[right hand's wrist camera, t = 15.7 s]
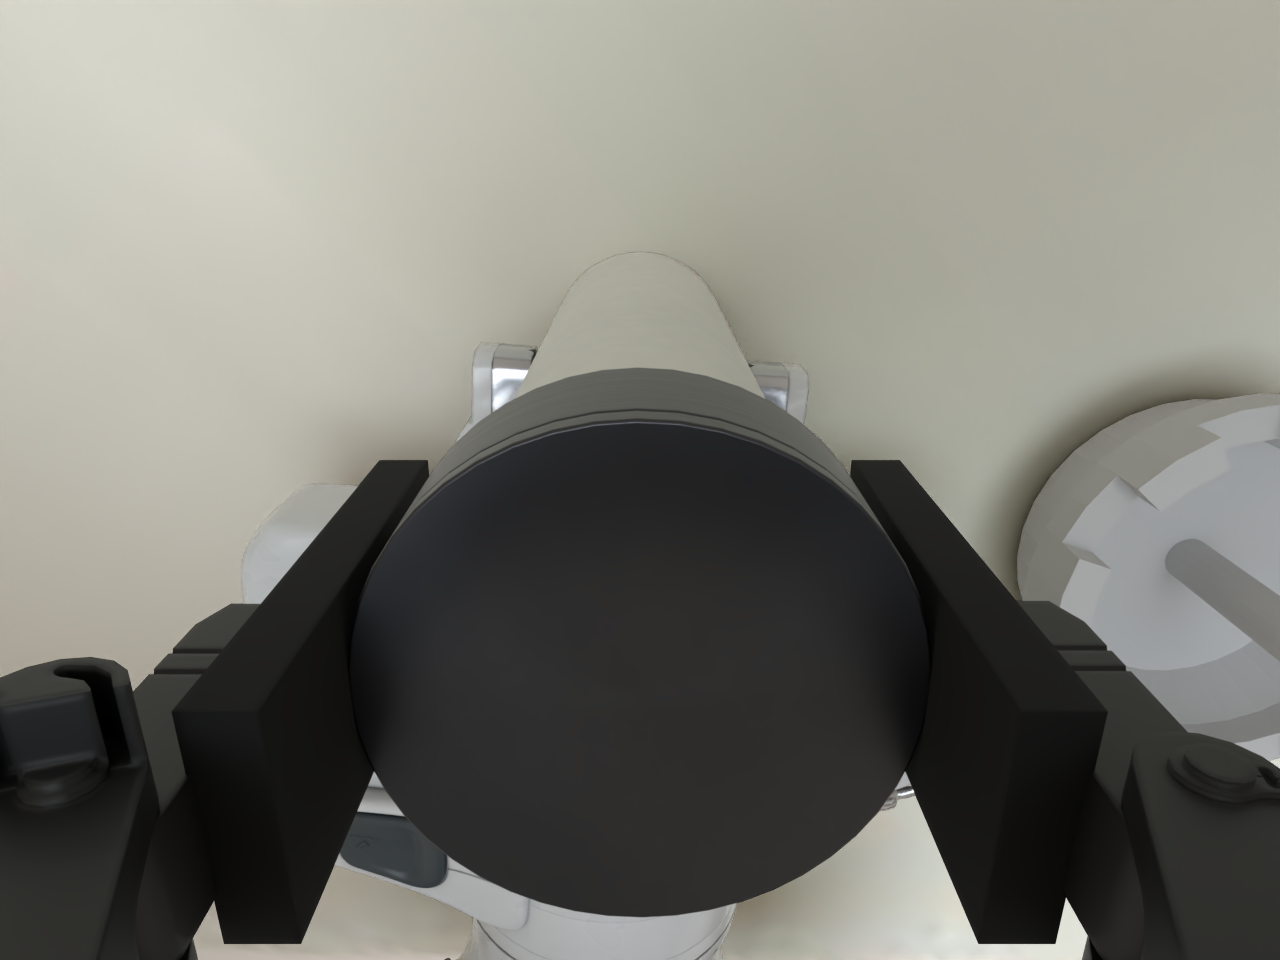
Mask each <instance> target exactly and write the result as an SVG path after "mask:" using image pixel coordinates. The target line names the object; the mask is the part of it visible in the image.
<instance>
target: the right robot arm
mask: <svg viewBox="0 0 1280 960" xmlns="http://www.w3.org/2000/svg"><path fill="white" fill-rule="evenodd" d="M850 477H851V479H852V480H853V482H854V483H855V485H856V487H857V488H858V490H859V491H860V493H861V494H862V496H863V498H864V499H865V501H866V502H867V504H868V505H869V507H870V508H871V510H872V512H873V513H874V515H875V516H876V518H877V519H878V521H879V523H880V524H881V526H882V527H883V529H884V530H885V532H886V533H887V535H888V537H889V538H890V540H891V541H892V543H893V544H894V546H895V548H896V549H897V551H898V552H899V554H900V555H901V557H902V559H903V560H904V562H905V563H906V565H907V568H908V570H909V572H910V574H911V577H912V579H913V581H914V584H915V586H916V588H917V590H918V593H919V595H920V598H921V602H922V606H923V609H924V613H925V617H926V621H927V625H928V628H929V637H930V647H931V657H932V668H931V678H930V686H929V694H928V701H927V708H926V714H925V721H924V727H923V730H922V733H921V736H920V738H919V741H918V744H917V747H916V749H915V752H914V755H913V757H912V759H911V761H910V763H909V765H908V767H907V769H906V771H905V772H906V774H907V777H908V779H909V781H910V784H911V786H912V788H913V791H914V793H915V796H916V798H917V800H918V803H919V805H920V807H921V810H922V812H923V814H924V817H925V819H926V821H927V824H928V826H929V828H930V831H931V833H932V836H933V838H934V840H935V843H936V845H937V847H938V850H939V852H940V854H941V857H942V859H943V861H944V864H945V866H946V869H947V871H948V873H949V876H950V878H951V880H952V883H953V885H954V887H955V890H956V892H957V894H958V897H959V899H960V901H961V904H962V906H963V909H964V911H965V913H966V916H967V918H968V920H969V923H970V925H971V927H972V930H973V932H974V934H975V937H976V939H977V942H978V944H1055V943H1056V939H1057V934H1058V930H1059V926H1060V921H1061V917H1062V912H1063V908H1064V903H1065V899H1066V898H1067V900H1068V901H1069V903H1070V905H1071V907H1072V908H1073V910H1074V912H1075V914H1076V916H1077V917H1078V919H1079V921H1080V923H1081V924H1082V926H1083V928H1084V930H1085V931H1086V933H1087V935H1088V937H1087V941H1086V945H1085V949H1084V953H1083V957H1082V960H1280V769H1279V768H1278V767H1277V766H1275V765H1274V764H1272V763H1271V762H1269V761H1268V760H1267V759H1265V758H1264V757H1262V756H1260V755H1258V754H1256V753H1254V752H1252V751H1249V750H1247V749H1245V748H1243V747H1241V746H1239V745H1236V744H1234V743H1232V742H1229V741H1225V740H1222V739H1218V738H1214V737H1211V736H1207V735H1203V734H1200V733H1189V732H1187V731H1186V729H1185V728H1184V727H1183V726H1182V725H1181V724H1180V723H1179V722H1178V721H1177V720H1176V719H1175V718H1174V717H1173V716H1172V715H1171V713H1170V712H1169V711H1168V710H1167V709H1166V708H1165V707H1164V706H1163V705H1162V704H1161V703H1160V702H1159V701H1158V700H1157V698H1156V697H1155V696H1154V695H1153V694H1152V693H1151V692H1150V691H1149V690H1148V689H1147V688H1146V687H1145V686H1144V685H1143V684H1142V682H1141V681H1140V680H1139V679H1138V678H1137V677H1136V676H1135V675H1134V674H1133V673H1132V672H1131V671H1126V665H1125V664H1124V663H1123V662H1122V661H1121V660H1120V659H1119V658H1118V657H1117V656H1116V655H1115V654H1114V653H1113V652H1112V651H1108V650H1107V645H1106V644H1105V643H1104V642H1103V641H1102V640H1101V639H1100V638H1099V637H1098V635H1097V634H1096V633H1095V632H1094V631H1093V630H1092V629H1091V628H1090V627H1089V626H1088V625H1087V624H1086V623H1085V622H1084V621H1083V620H1081V619H1079V618H1077V617H1076V616H1074V615H1072V614H1071V613H1069V612H1067V611H1065V610H1064V609H1062V608H1060V607H1058V606H1057V605H1055V604H1053V603H1052V602H1050V601H1016V600H1015V599H1014V597H1013V596H1012V595H1011V594H1010V593H1009V591H1008V590H1007V589H1006V588H1005V587H1004V585H1003V584H1002V583H1001V582H1000V581H999V579H998V578H997V577H996V576H995V575H994V573H993V572H992V571H991V570H990V569H989V567H988V566H987V565H986V564H985V562H984V561H983V560H982V559H981V558H980V556H979V555H978V554H977V553H976V552H975V550H974V549H973V548H972V547H971V546H970V544H969V543H968V542H967V541H966V540H965V538H964V537H963V536H962V535H961V534H960V532H959V531H958V530H957V529H956V528H955V526H954V525H953V524H952V523H951V521H950V520H949V519H948V518H947V517H946V515H945V514H944V513H943V512H942V511H941V509H940V508H939V507H938V506H937V505H936V503H935V502H934V501H933V500H932V499H931V497H930V496H929V495H928V494H927V493H926V491H925V490H924V489H923V488H922V486H921V485H920V484H919V483H918V482H917V480H916V479H915V478H914V477H913V476H912V474H911V473H910V472H909V471H908V470H907V468H906V467H905V466H904V465H903V464H902V462H901V461H900V460H852V463H851V474H850ZM428 478H429V469H428V460H379V462H378V463H377V464H376V465H375V466H374V468H373V469H372V470H371V471H370V473H369V474H368V475H367V476H366V477H365V479H364V480H363V481H362V482H361V483H360V485H359V486H358V487H357V488H356V489H355V491H354V492H353V493H352V494H351V495H350V497H349V498H348V499H347V500H346V501H345V503H344V504H343V505H342V506H341V508H340V509H339V510H338V511H337V512H336V514H335V515H334V516H333V517H332V518H331V520H330V521H329V522H328V523H327V524H326V526H325V527H324V528H323V529H322V530H321V532H320V533H319V534H318V535H317V536H316V538H315V539H314V540H313V541H312V542H311V544H310V545H309V546H308V547H307V549H306V550H305V551H304V552H303V553H302V555H301V556H300V557H299V558H298V559H297V561H296V562H295V563H294V564H293V565H292V567H291V568H290V569H289V570H288V571H287V573H286V574H285V575H284V576H283V577H282V579H281V580H280V581H279V582H278V583H277V585H276V586H275V587H274V588H273V590H272V591H271V592H270V593H269V594H268V596H267V597H266V598H265V599H264V600H263V602H262V603H261V604H230V605H228V606H226V607H225V608H223V609H221V610H220V611H218V612H216V613H215V614H213V615H211V616H209V617H208V618H206V619H204V620H203V621H201V622H199V623H197V624H196V625H195V626H194V627H193V628H192V629H191V630H190V631H189V632H188V633H187V634H186V635H185V636H184V638H183V639H182V640H181V641H180V642H179V643H178V644H177V645H176V646H175V647H174V648H173V654H168V655H167V656H166V657H165V658H164V659H163V660H162V661H161V662H160V663H159V664H158V666H157V667H156V668H155V669H154V674H149V675H148V676H147V677H146V678H145V680H144V681H143V682H142V683H141V684H140V685H139V686H138V687H137V688H136V689H135V690H134V691H132V687H131V682H130V678H129V674H128V670H126V669H125V668H124V667H122V666H121V665H119V664H118V663H117V662H115V661H112V660H106V659H100V658H94V657H85V658H71V659H60V660H55V661H51V662H47V663H43V664H39V665H34V666H30V667H26V668H24V669H21V670H19V671H16V672H14V673H11V674H9V675H6V676H4V677H1V678H0V960H198V958H197V953H196V949H195V945H194V941H193V937H194V935H195V933H196V932H197V930H198V928H199V926H200V924H201V923H202V921H203V919H204V917H205V916H206V914H207V912H208V910H209V909H210V907H211V905H212V903H213V901H214V902H215V906H216V910H217V915H218V919H219V924H220V928H221V932H222V937H223V941H224V944H301V943H302V940H303V938H304V936H305V933H306V931H307V928H308V926H309V924H310V921H311V919H312V917H313V914H314V912H315V910H316V907H317V905H318V903H319V900H320V898H321V895H322V893H323V891H324V888H325V886H326V884H327V881H328V879H329V877H330V874H331V872H332V870H333V867H334V865H335V863H336V860H337V858H338V855H339V853H340V851H341V848H342V846H343V844H344V841H345V839H346V837H347V834H348V832H349V830H350V827H351V825H352V822H353V820H354V818H355V815H356V813H357V811H358V808H359V806H360V804H361V801H362V799H363V797H364V794H365V792H366V790H367V787H368V785H369V782H370V780H371V778H372V775H373V773H374V770H373V768H372V766H371V765H370V763H369V761H368V758H367V756H366V753H365V750H364V748H363V745H362V743H361V740H360V738H359V735H358V732H357V728H356V724H355V719H354V713H353V706H352V699H351V691H350V684H349V676H348V654H349V642H350V632H351V628H352V624H353V620H354V616H355V611H356V607H357V603H358V600H359V597H360V595H361V592H362V590H363V588H364V585H365V583H366V580H367V578H368V576H369V573H370V571H371V568H372V567H373V565H374V563H375V562H376V560H377V558H378V557H379V555H380V553H381V552H382V550H383V549H384V547H385V545H386V544H387V542H388V540H389V539H390V537H391V535H392V534H393V532H394V531H395V529H396V528H397V526H398V525H399V523H400V521H401V520H402V518H403V517H404V515H405V514H406V512H407V510H408V509H409V507H410V506H411V504H412V503H413V501H414V499H415V498H416V496H417V495H418V493H419V492H420V490H421V488H422V487H423V485H424V484H425V482H426V481H427V479H428Z"/></svg>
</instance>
